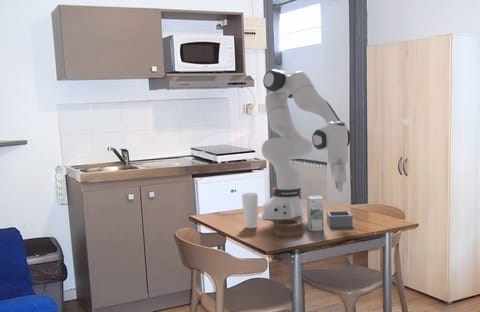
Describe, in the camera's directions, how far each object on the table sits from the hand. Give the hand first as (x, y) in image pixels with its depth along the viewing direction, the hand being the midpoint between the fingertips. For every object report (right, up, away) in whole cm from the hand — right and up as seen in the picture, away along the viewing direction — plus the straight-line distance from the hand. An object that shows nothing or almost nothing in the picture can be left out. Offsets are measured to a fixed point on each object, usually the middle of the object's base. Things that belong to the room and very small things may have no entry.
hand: (338, 189), depth 221 cm
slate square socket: (+1, -15, +2) cm, 16 cm away
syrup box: (-11, -17, -5) cm, 21 cm away
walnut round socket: (-23, -18, -10) cm, 31 cm away
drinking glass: (-38, -17, +4) cm, 42 cm away
